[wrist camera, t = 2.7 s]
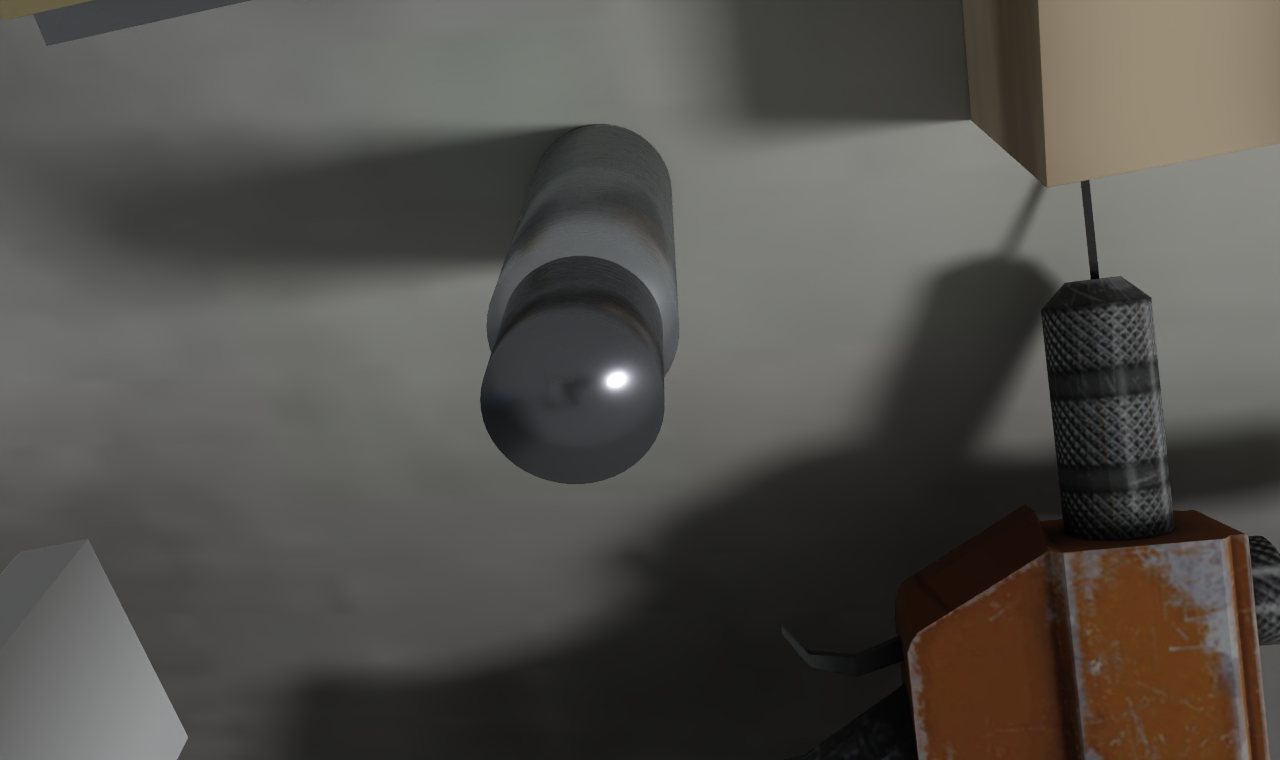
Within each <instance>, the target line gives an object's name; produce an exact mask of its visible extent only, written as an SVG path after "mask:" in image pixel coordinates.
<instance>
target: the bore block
mask: <svg viewBox="0 0 1280 760" xmlns="http://www.w3.org/2000/svg"><path fill="white" fill-rule="evenodd" d="M962 6H963V19H964V32H965V45H966V58H967V71H968V85H969V98H970V111H971V121H972V122H974V123H975V124H976V125H977V126H978V127H979V128H980V129H982V130H983V131H984V132H985V133H986V134H987V135H988V136H989V137H991V138H992V139H993V140H994V141H995V142H996V143H997V144H998V145H1000V146H1001V147H1002V148H1003V149H1004V150H1005V151H1006V152H1007V153H1009V154H1010V155H1011V156H1012V157H1013V158H1014V159H1015V160H1016V161H1018V162H1019V163H1020V164H1021V165H1022V166H1023V167H1024V168H1026V169H1027V170H1028V171H1029V172H1030V173H1031V174H1032V175H1033V176H1035V177H1036V178H1037V179H1038V180H1039V181H1040V182H1041V183H1042V184H1044V185H1045V186H1046V187H1047V188H1048V187H1054V186H1059V185H1064V184H1069V183H1074V182H1080V181H1085V180H1090V179H1095V178H1101V177H1106V176H1111V175H1116V174H1121V173H1127V172H1132V171H1137V170H1142V169H1148V168H1153V167H1158V166H1163V165H1169V164H1174V163H1179V162H1184V161H1189V160H1195V159H1200V158H1205V157H1210V156H1216V155H1221V154H1226V153H1231V152H1237V151H1242V150H1247V149H1252V148H1257V147H1263V146H1268V145H1273V144H1278V143H1280V0H962Z"/></svg>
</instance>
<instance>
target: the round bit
mask: <svg viewBox="0 0 1280 760" xmlns="http://www.w3.org/2000/svg"><path fill="white" fill-rule="evenodd" d="M487 337H488V342H489V347H490V350H491V356H490V359H489V362H488V366H487V369H486V372H485V375H484V378H483V383H482V387H481V397H480V402H481V412H482V416H483V421H484V424H485V426H486V429H487V431H488V433H489V435H490V437H491V439H492V440H493V442H494V443H495V445H496V446H497V447H498V449H499V450H500V451H501V452H502V453H503V454H504V455H505V456H506V457H507V458H508V459H509V460H510V461H511V462H513V463H514V464H515V465H516V466H518V467H520V468H521V469H523V470H524V471H526V472H528V473H530V474H532V475H534V476H537V477H540V478H542V479H545V480H549V481H553V482H558V483H566V484H585V483H593V482H597V481H602V480H605V479H608V478H611V477H614V476H616V475H618V474H620V473H622V472H624V471H625V470H627V469H628V468H630V467H631V466H633V465H634V464H635V463H637V462H638V461H639V460H640V459H641V458H642V457H643V456H644V455H645V454H646V453H647V451H648V450H649V449H650V448H651V446H652V444H653V443H654V441H655V440H656V438H657V435H658V433H659V431H660V428H661V425H662V421H663V416H664V377H665V375H666V374H667V372H668V371H669V369H670V366H671V364H672V362H673V360H674V357H675V354H676V350H677V346H678V339H679V318H678V299H677V280H676V261H675V242H674V224H673V205H672V188H671V180H670V176H669V172H668V170H667V167H666V165H665V163H664V161H663V159H662V158H661V156H660V154H659V153H658V152H657V151H656V149H655V148H654V147H653V146H652V145H651V144H650V143H649V142H648V141H647V140H645V139H644V138H643V137H641V136H640V135H638V134H636V133H635V132H633V131H630V130H628V129H625V128H623V127H619V126H615V125H607V124H595V125H588V126H584V127H580V128H577V129H575V130H572V131H570V132H568V133H567V134H565V135H563V136H562V137H560V138H559V139H558V140H557V141H555V142H554V143H553V144H552V145H551V146H550V147H549V148H548V150H547V151H546V153H545V154H544V155H543V157H542V159H541V161H540V163H539V165H538V168H537V170H536V173H535V176H534V179H533V182H532V185H531V187H530V190H529V193H528V196H527V199H526V202H525V205H524V207H523V210H522V213H521V216H520V219H519V222H518V225H517V227H516V230H515V233H514V236H513V239H512V242H511V244H510V247H509V250H508V253H507V256H506V259H505V262H504V264H503V267H502V270H501V273H500V276H499V279H498V282H497V284H496V287H495V290H494V293H493V296H492V299H491V302H490V305H489V310H488V314H487Z"/></svg>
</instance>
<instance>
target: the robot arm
mask: <svg viewBox="0 0 1280 760" xmlns="http://www.w3.org/2000/svg"><path fill="white" fill-rule="evenodd" d="M187 738H188V736H187V734H186V732H185V730H184V728H183V726H182V724H181V722H180V720H179V718H178V716H177V714H176V712H175V710H174V708H173V706H172V704H171V703H170V701H169V699H168V697H167V695H166V693H165V691H164V689H163V687H162V685H161V683H160V681H159V679H158V677H157V675H156V673H155V671H154V669H153V667H152V665H151V663H150V661H149V659H148V657H147V655H146V653H145V651H144V649H143V647H142V645H141V643H140V641H139V639H138V637H137V635H136V633H135V631H134V629H133V627H132V625H131V623H130V621H129V620H128V618H127V616H126V614H125V612H124V610H123V608H122V606H121V604H120V602H119V600H118V598H117V596H116V594H115V592H114V590H113V588H112V586H111V584H110V582H109V580H108V578H107V576H106V574H105V572H104V570H103V568H102V566H101V564H100V562H99V560H98V558H97V556H96V554H95V552H94V550H93V548H92V546H91V544H90V542H89V540H88V539H85V540H80V541H75V542H70V543H65V544H60V545H54V546H49V547H44V548H39V549H34V550H29V551H23V552H19V553H18V554H17V555H16V557H15V558H14V559H13V560H12V561H11V562H10V563H9V565H8V566H7V567H6V568H5V569H4V570H3V571H2V573H1V574H0V760H177V759H178V757H179V755H180V753H181V751H182V749H183V747H184V745H185V743H186V740H187Z"/></svg>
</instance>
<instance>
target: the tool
mask: <svg viewBox="0 0 1280 760" xmlns="http://www.w3.org/2000/svg"><path fill="white" fill-rule="evenodd" d="M1081 188H1082V197H1083V207H1084V217H1085V227H1086V236H1087V246H1088V256H1089V266H1090V275H1091V280H1084V281H1076V282H1068V283H1064V284H1063V286H1062V287H1061V288H1060V289H1059V290H1058V291H1057V292H1056V294H1055V295H1054V296H1053V297H1052V298H1051V299H1050V300H1049V302H1048V303H1047V304H1046V305H1045V306H1044V307H1043V308H1042V310H1041V315H1042V324H1043V334H1044V343H1045V352H1046V362H1047V371H1048V381H1049V390H1050V400H1051V409H1052V419H1053V428H1054V438H1055V447H1056V457H1057V466H1058V475H1059V485H1060V494H1061V504H1062V513H1063V519H1060V520H1049V521H1040V520H1039V518H1038V516H1037V515H1036V513H1035V511H1033V510H1032V509H1031V508H1030V507H1028V506H1027V505H1026V504H1025V505H1023V506H1022V507H1020V508H1019V509H1017V510H1016V511H1014V512H1012V513H1011V514H1009V515H1008V516H1006V517H1005V518H1003V519H1001V520H1000V521H998V522H997V523H995V524H993V525H992V526H990V527H989V528H987V529H986V530H984V531H982V532H981V533H979V534H978V535H976V536H975V537H973V538H971V539H970V540H968V541H967V542H965V543H963V544H962V545H960V546H959V547H957V548H956V549H954V550H952V551H951V552H949V553H948V554H946V555H945V556H943V557H941V558H940V559H938V560H937V561H935V562H933V563H932V564H930V565H929V566H927V567H926V568H924V569H922V570H921V571H919V572H918V573H916V574H915V575H913V576H911V577H910V578H908V579H907V580H905V581H904V583H903V584H902V586H901V587H900V588H899V591H898V594H897V597H896V600H895V622H896V631H897V637H895V638H893V639H890V640H888V641H886V642H883V643H881V644H879V645H876V646H874V647H871V648H869V649H867V650H864V651H862V652H859V653H857V654H844V653H830V652H816V651H808V650H807V649H806V648H805V647H804V646H803V645H802V644H801V643H800V642H799V641H798V640H797V639H796V637H795V636H794V635H793V634H792V633H791V632H790V631H789V630H788V629H787V628H786V627H785V626H784V625H783V624H782V623H781V628H782V635H783V636H784V637H785V638H786V640H787V641H788V642H789V643H790V644H791V645H792V647H793V648H794V649H795V650H796V651H797V652H798V654H799V655H800V656H801V657H802V658H803V660H804V661H805V662H806V663H807V664H808V665H809V667H812V668H817V669H822V670H827V671H832V672H837V673H842V674H847V675H853V676H861V675H864V674H867V673H870V672H872V671H875V670H878V669H881V668H884V667H887V666H890V665H892V664H895V663H898V662H900V667H901V676H902V686H901V687H899V688H898V689H897V690H895V691H894V692H892V693H891V694H890V695H888V696H887V697H885V698H884V699H882V700H881V701H880V702H878V703H877V704H875V705H874V706H873V707H871V708H870V709H868V710H867V711H866V712H864V713H863V714H861V715H860V716H858V717H857V718H856V719H854V720H853V721H851V722H850V723H849V724H847V725H846V726H844V727H843V728H842V729H840V730H839V731H837V732H836V733H834V734H833V735H832V736H830V737H829V738H827V739H826V740H825V741H823V742H822V743H820V744H819V745H818V746H816V747H815V748H813V749H812V750H810V751H809V752H808V753H806V754H805V755H801V756H797V757H793V758H789V759H785V760H1270V751H1269V741H1268V730H1267V720H1266V710H1265V700H1264V690H1263V680H1262V669H1261V659H1260V649H1259V646H1261V645H1275V644H1280V554H1279V552H1278V551H1277V549H1276V548H1275V547H1274V546H1273V545H1272V544H1271V543H1270V542H1269V541H1268V540H1267V539H1265V538H1264V537H1263V536H1248V535H1246V534H1244V533H1242V532H1240V531H1238V530H1236V529H1234V528H1231V527H1229V526H1227V525H1225V524H1223V523H1221V522H1219V521H1217V520H1214V519H1212V518H1210V517H1208V516H1206V515H1204V514H1202V513H1200V512H1197V511H1195V510H1188V511H1174V510H1173V506H1172V496H1171V487H1170V477H1169V467H1168V457H1167V447H1166V438H1165V428H1164V418H1163V408H1162V398H1161V389H1160V379H1159V369H1158V359H1157V350H1156V340H1155V330H1154V320H1153V310H1152V301H1151V297H1149V296H1148V295H1147V294H1145V293H1144V292H1142V291H1141V290H1140V289H1138V288H1137V287H1135V286H1134V285H1132V284H1131V283H1130V282H1128V281H1127V280H1125V279H1124V278H1123V277H1121V276H1118V277H1109V278H1101V279H1099V271H1098V262H1097V252H1096V242H1095V232H1094V223H1093V213H1092V203H1091V193H1090V183H1089V180H1085V181H1081Z"/></svg>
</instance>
